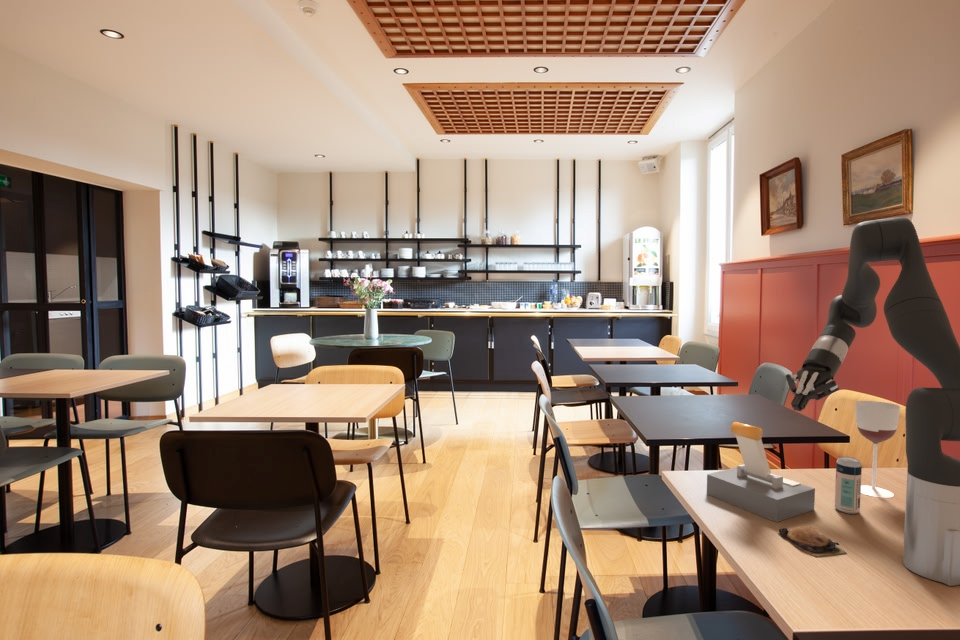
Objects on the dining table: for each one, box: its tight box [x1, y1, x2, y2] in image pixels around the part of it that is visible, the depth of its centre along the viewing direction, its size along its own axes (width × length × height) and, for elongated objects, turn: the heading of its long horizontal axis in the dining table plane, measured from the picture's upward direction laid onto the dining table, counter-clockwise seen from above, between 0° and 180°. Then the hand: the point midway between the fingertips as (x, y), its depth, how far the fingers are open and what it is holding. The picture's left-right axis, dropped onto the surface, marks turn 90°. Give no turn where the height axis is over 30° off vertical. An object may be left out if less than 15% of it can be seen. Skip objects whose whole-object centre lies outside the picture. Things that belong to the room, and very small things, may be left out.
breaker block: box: [706, 463, 816, 523], centre depth 127 cm, size 14×18×8 cm
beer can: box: [834, 456, 863, 515], centre depth 122 cm, size 5×5×12 cm
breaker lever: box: [730, 421, 774, 483], centre depth 125 cm, size 3×7×15 cm, turn 28°
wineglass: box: [854, 400, 901, 499], centre depth 133 cm, size 9×10×22 cm
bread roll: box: [777, 525, 848, 558], centre depth 107 cm, size 11×8×4 cm
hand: (796, 408), depth 133 cm, fingers closed
